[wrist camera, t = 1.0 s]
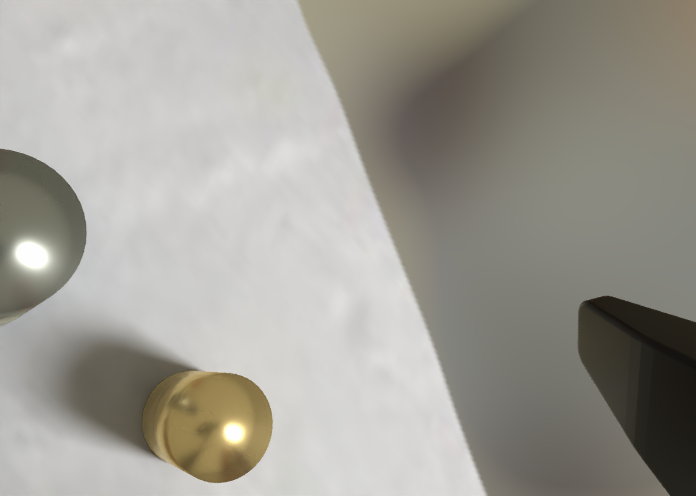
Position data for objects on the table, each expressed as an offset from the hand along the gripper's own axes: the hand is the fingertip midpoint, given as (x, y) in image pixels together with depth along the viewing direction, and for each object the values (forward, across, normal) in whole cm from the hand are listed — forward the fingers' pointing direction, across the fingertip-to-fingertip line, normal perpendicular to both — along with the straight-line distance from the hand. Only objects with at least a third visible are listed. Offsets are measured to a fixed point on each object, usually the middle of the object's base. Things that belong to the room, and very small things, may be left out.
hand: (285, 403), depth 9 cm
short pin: (+14, +4, +11) cm, 18 cm away
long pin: (+15, +9, +3) cm, 18 cm away
